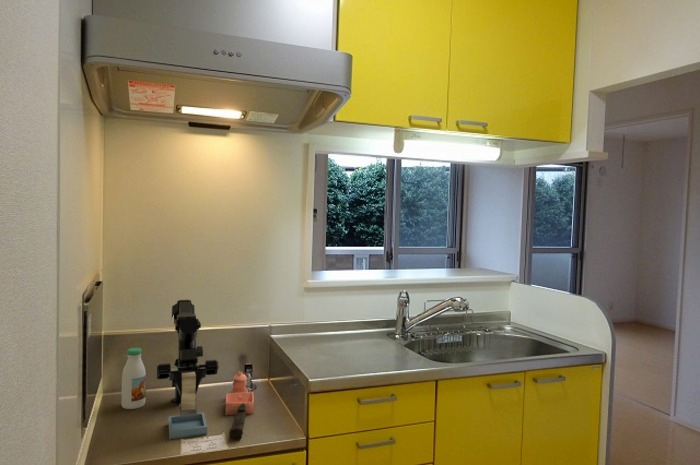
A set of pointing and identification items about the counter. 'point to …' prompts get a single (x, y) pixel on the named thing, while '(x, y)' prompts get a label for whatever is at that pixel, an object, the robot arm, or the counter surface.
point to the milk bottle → (133, 380)
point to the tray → (187, 426)
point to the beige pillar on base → (188, 395)
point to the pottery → (239, 396)
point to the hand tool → (238, 424)
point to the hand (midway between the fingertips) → (188, 394)
